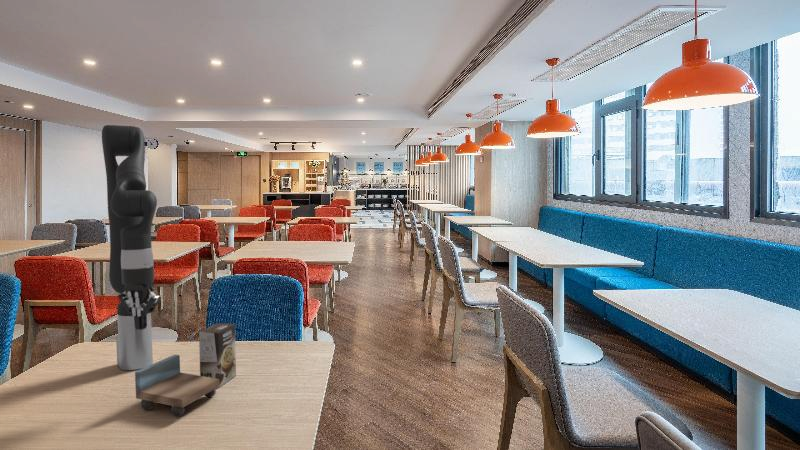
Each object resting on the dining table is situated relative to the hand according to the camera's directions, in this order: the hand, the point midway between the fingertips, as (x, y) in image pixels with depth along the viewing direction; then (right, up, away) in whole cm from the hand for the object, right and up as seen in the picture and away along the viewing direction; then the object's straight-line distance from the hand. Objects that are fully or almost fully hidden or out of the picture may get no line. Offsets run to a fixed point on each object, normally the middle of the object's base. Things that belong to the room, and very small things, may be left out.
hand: (141, 328), depth 124 cm
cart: (+12, -19, -3) cm, 22 cm away
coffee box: (+16, -18, +12) cm, 27 cm away
